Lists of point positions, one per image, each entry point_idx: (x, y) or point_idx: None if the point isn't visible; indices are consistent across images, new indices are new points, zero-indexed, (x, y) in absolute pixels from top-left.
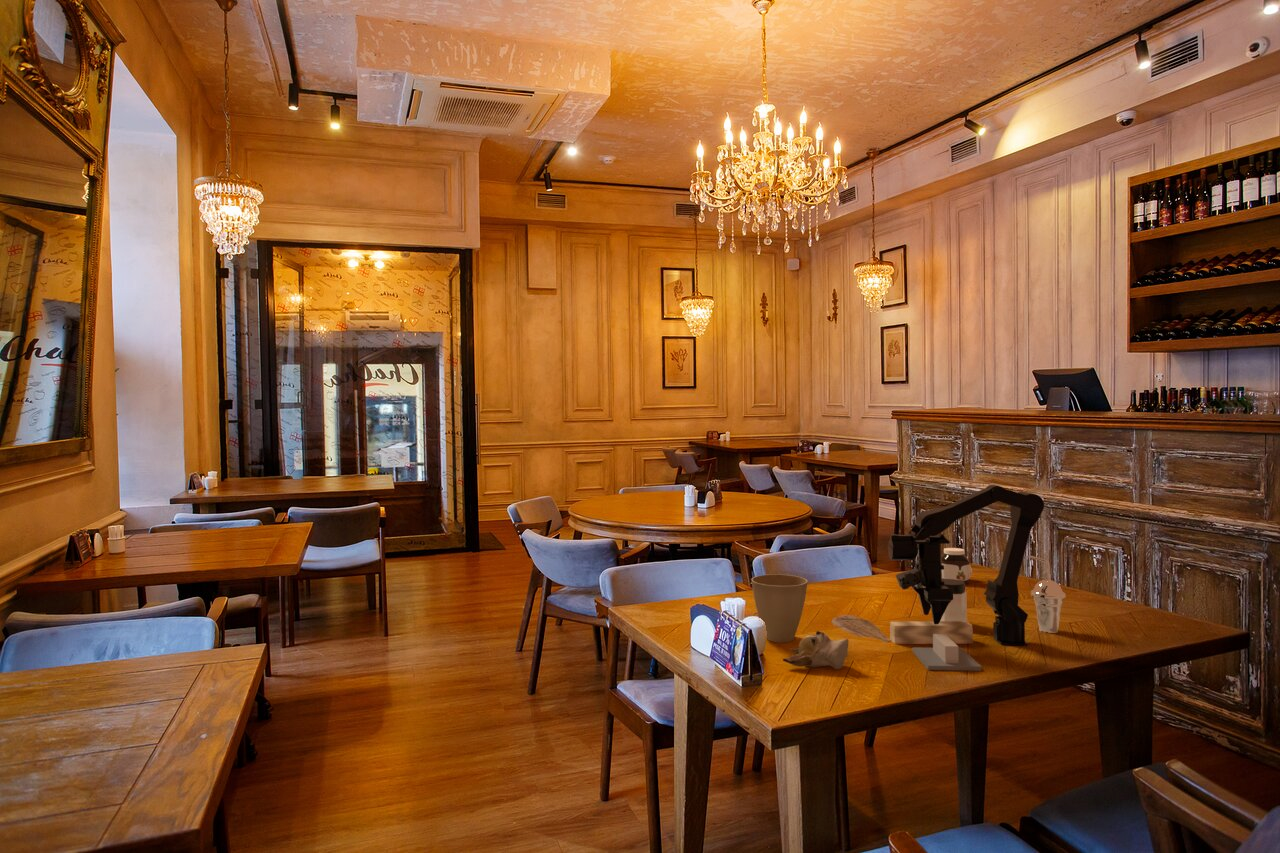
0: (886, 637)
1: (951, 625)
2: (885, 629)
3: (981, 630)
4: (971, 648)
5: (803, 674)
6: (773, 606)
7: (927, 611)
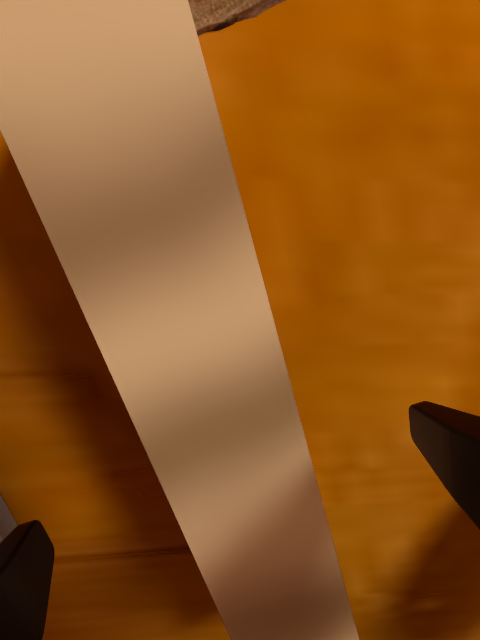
0: (204, 12)
1: (209, 587)
2: (465, 22)
3: (472, 576)
4: (128, 570)
5: None
6: None
7: (434, 455)
